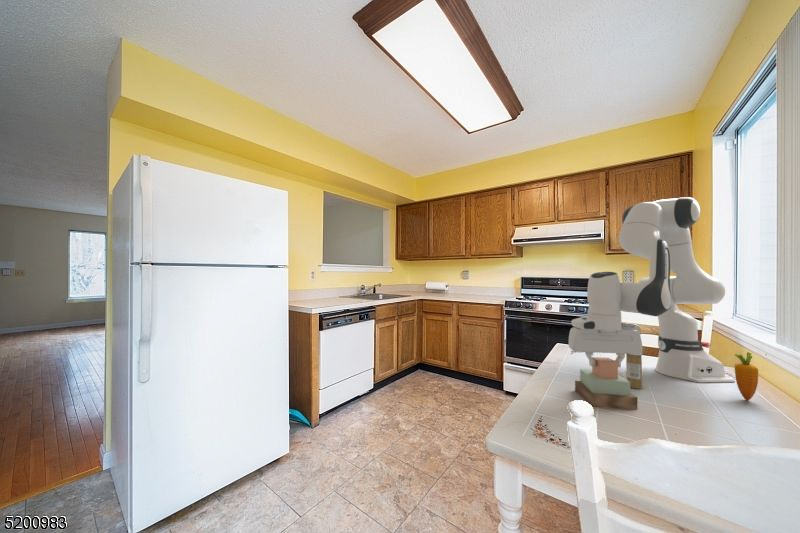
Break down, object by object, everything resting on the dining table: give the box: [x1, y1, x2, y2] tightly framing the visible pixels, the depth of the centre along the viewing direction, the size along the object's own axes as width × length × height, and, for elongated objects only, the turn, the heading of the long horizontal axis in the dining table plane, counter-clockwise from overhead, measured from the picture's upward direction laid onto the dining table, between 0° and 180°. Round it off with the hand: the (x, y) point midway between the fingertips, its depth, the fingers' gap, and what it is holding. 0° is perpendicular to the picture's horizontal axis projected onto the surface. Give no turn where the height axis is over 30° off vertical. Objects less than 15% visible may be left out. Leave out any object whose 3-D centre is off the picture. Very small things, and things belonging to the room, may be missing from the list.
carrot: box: [734, 351, 759, 401], centre depth 92 cm, size 5×5×15 cm
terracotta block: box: [591, 356, 619, 379], centre depth 93 cm, size 5×5×5 cm
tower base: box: [574, 380, 639, 410], centre depth 92 cm, size 12×12×4 cm
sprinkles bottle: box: [625, 351, 644, 390], centre depth 103 cm, size 5×5×13 cm
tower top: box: [579, 368, 631, 396], centre depth 93 cm, size 10×10×4 cm
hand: (604, 366), depth 93 cm, fingers open, 5 cm apart
